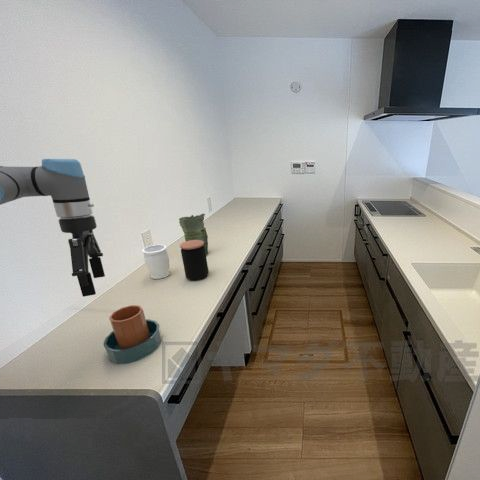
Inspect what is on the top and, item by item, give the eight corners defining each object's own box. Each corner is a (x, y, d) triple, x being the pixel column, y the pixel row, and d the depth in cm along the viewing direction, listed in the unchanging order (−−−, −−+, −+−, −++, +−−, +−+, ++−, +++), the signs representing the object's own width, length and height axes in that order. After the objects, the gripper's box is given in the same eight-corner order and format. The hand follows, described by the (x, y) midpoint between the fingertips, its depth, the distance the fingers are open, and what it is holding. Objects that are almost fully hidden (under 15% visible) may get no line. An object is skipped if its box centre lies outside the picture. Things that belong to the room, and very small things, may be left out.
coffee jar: (199, 269, 140) (193, 238, 134) (213, 274, 136) (208, 241, 130) (181, 278, 131) (174, 245, 125) (196, 283, 127) (190, 249, 121)
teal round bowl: (116, 373, 78) (111, 359, 76) (103, 348, 87) (98, 335, 85) (169, 345, 89) (166, 332, 87) (152, 326, 98) (149, 313, 96)
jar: (144, 276, 133) (137, 249, 128) (165, 268, 141) (160, 242, 136) (155, 282, 127) (148, 254, 122) (176, 274, 135) (170, 247, 130)
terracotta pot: (125, 360, 82) (114, 325, 78) (117, 346, 88) (106, 313, 83) (154, 345, 88) (146, 312, 84) (145, 333, 94) (136, 302, 89)
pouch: (184, 258, 153) (176, 217, 144) (195, 250, 164) (188, 211, 155) (202, 259, 152) (195, 218, 143) (212, 251, 163) (206, 212, 154)
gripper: (82, 224, 64) (102, 300, 71) (102, 208, 85) (116, 268, 91) (40, 227, 61) (65, 308, 67) (71, 210, 82) (88, 273, 88)
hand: (94, 285), depth 79 cm, fingers open, 13 cm apart
